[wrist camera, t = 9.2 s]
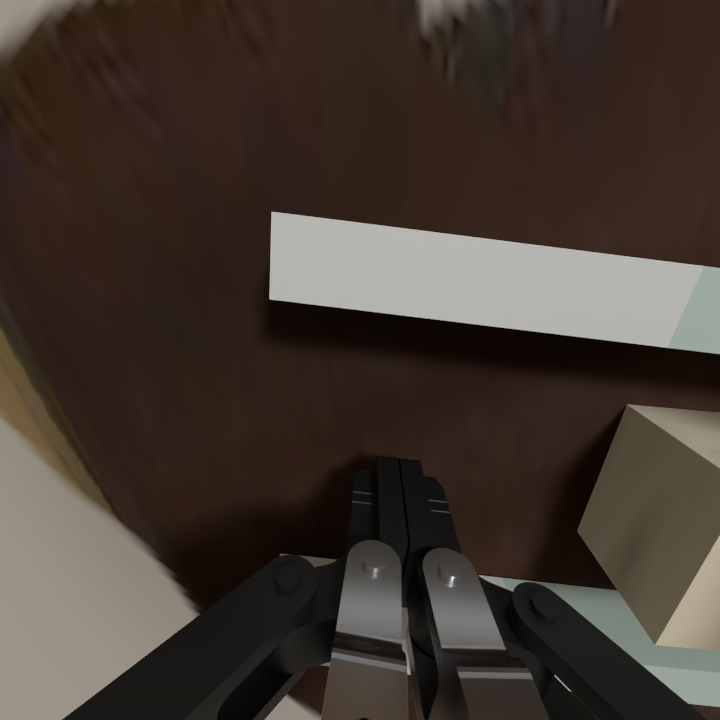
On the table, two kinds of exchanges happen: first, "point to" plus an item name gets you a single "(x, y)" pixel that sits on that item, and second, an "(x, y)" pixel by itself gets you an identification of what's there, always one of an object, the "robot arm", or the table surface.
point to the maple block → (662, 522)
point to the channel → (522, 312)
